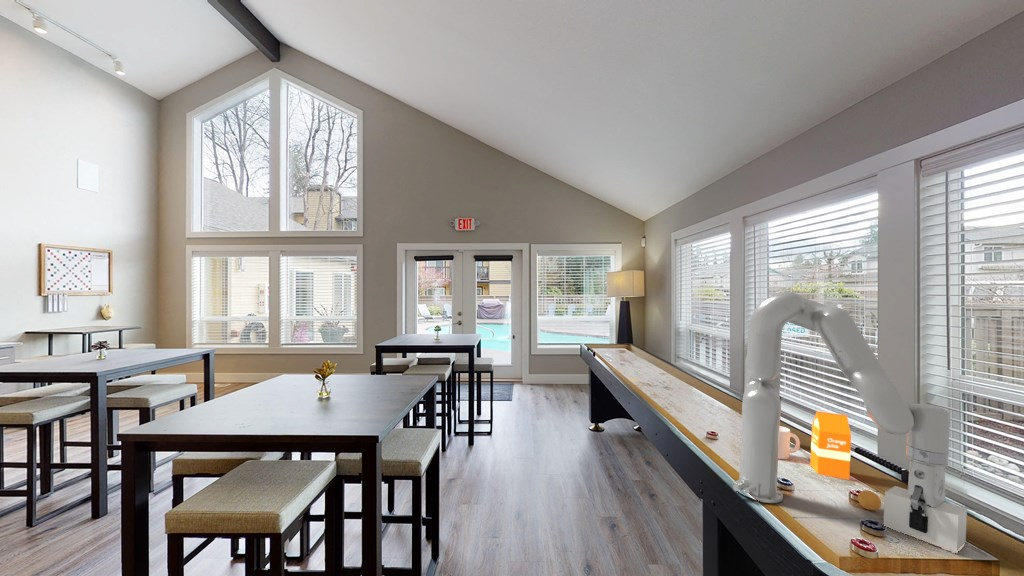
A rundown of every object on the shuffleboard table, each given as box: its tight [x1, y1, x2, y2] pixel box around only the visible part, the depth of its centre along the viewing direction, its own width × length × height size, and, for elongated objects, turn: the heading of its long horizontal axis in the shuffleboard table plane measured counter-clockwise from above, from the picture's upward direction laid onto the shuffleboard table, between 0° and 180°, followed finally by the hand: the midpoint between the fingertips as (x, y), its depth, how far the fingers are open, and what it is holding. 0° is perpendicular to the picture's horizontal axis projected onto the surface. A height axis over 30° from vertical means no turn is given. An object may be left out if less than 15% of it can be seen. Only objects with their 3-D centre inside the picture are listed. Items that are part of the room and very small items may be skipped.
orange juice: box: [810, 411, 852, 480], centre depth 142 cm, size 8×9×20 cm
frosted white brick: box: [882, 485, 968, 551], centre depth 104 cm, size 8×13×9 cm, turn 32°
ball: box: [857, 489, 882, 511], centre depth 117 cm, size 5×5×5 cm
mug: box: [778, 425, 801, 460], centre depth 154 cm, size 12×8×10 cm
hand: (923, 525), depth 104 cm, fingers closed on frosted white brick, 7 cm apart
